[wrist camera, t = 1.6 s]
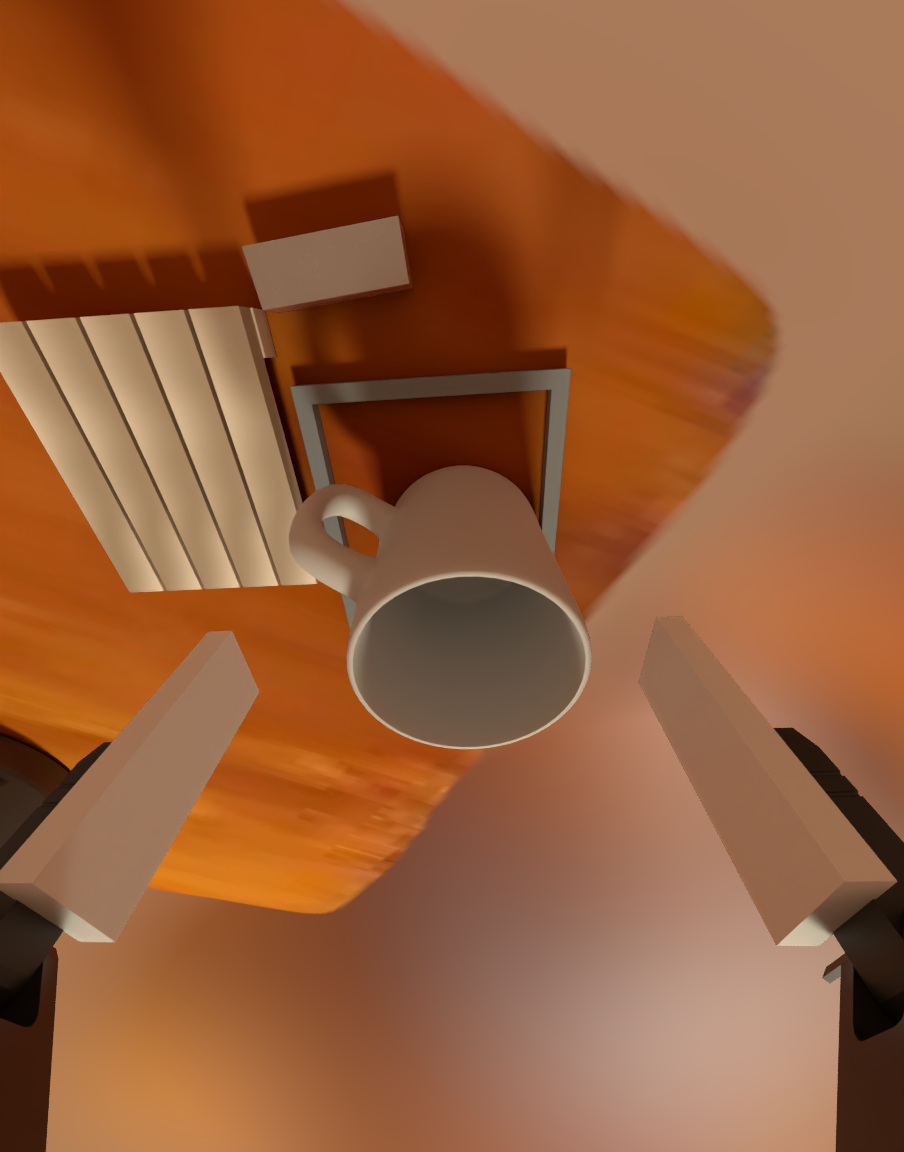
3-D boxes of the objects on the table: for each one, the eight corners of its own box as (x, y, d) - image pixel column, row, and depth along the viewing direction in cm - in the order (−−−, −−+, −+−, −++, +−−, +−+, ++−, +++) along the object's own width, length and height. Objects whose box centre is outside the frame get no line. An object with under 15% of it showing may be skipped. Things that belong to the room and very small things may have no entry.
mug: (566, 515, 22) (652, 645, 12) (481, 617, 25) (497, 776, 16) (375, 390, 18) (295, 437, 9) (310, 528, 22) (204, 662, 13)
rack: (153, 572, 24) (128, 592, 22) (23, 327, 17) (-30, 324, 15) (329, 564, 23) (318, 583, 22) (264, 310, 17) (240, 305, 15)
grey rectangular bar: (281, 313, 17) (262, 310, 15) (264, 257, 16) (241, 246, 14) (413, 289, 17) (408, 283, 15) (404, 229, 16) (398, 215, 14)
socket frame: (354, 628, 26) (351, 636, 25) (296, 385, 18) (290, 386, 18) (545, 620, 26) (547, 627, 25) (566, 367, 18) (570, 368, 17)
